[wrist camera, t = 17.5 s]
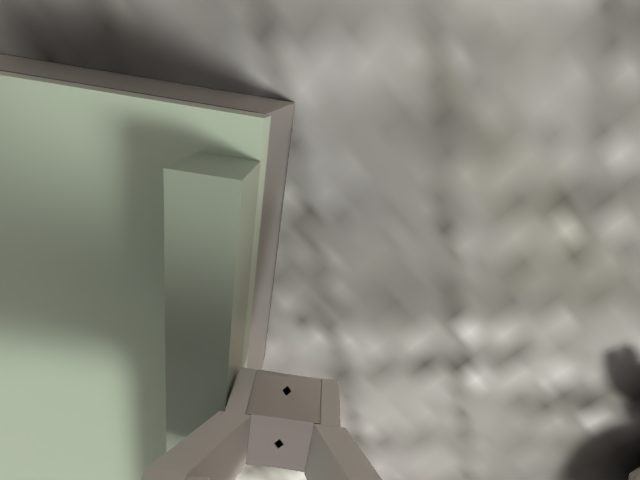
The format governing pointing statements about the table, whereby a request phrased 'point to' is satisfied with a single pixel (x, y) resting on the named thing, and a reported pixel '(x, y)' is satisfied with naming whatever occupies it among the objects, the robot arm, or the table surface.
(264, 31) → the table surface
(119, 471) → the lid
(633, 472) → the robot toy
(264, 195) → the housing
